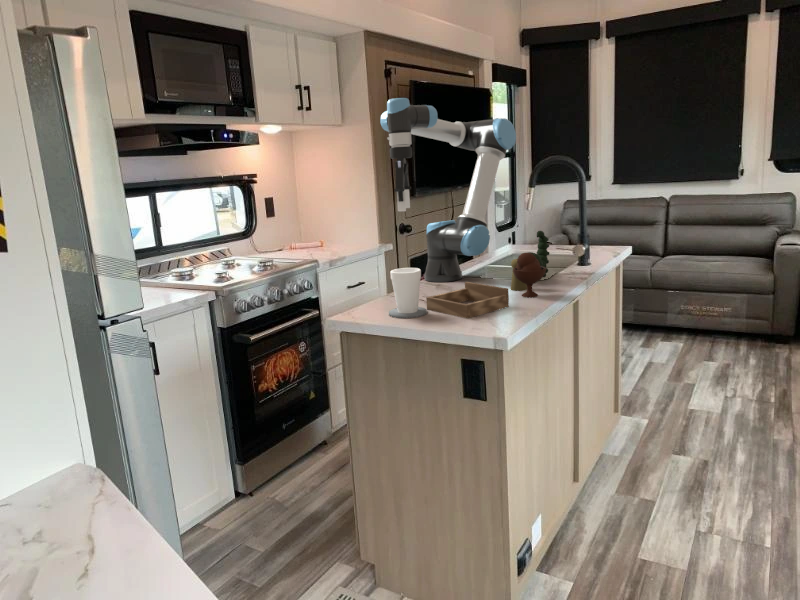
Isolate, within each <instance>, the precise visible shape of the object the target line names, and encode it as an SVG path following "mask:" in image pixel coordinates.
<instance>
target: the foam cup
mask: <svg viewBox="0 0 800 600" xmlns="http://www.w3.org/2000/svg"><path fill="white" fill-rule="evenodd" d="M389 273H390V280H391V283H392V288H393V293H394V299H395V304H396V308H397V310H398V312H399V313H414V312H417V311H418V307H419V301H420V290H421V289H420V288H421V277H422V270H421V269H420V268H418V267H402V268H400V267H399V268H395V269H392V270H390V272H389Z"/></svg>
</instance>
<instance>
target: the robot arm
mask: <svg viewBox="0 0 800 600" xmlns="http://www.w3.org/2000/svg"><path fill="white" fill-rule="evenodd" d="M380 125H381V128H382V129H383V130H384V131H386V132H388V137H386V139H387V140H388V142H389V143H388V144H389V146H390V148H389V158H390V159H392V160H394V159H396V161H395V164H394V167H395V188H394V192H395V193H396V202H397V205H396V206H397V212H407V209H411V200H410V198H411V197H410V190H412V186H411V185H410V180H409V163H408V161H407V160H406V159H411V158H412V157H413V149H412V146H411V145H412V144H413V143H412V135H414V136H418V137H423V138H427V139H433V140H436V141H441V142H446V143H449V145H451V146H453V147H457V148H460V149H464V150H468V151H474V152H475V153H476V154H477V159H476V161H475V166H474V169H473V173H472V177H471V181H470V185H469V189H468V191H467V195H466V199H465V203H464V208H463V209H462V210H463V211H462V213H461V214H460V215H459V216H457V218H456V220H455V219H452V220H451V219H450V220H446V221H445V220H443V221H438V222H437V221H436V222H430V223H428V224H427V226H426V233H425V235H426V248H427V249H426V250H427V264H426V267H425V271H424V274H423V275H424V280H425V281H427V282H434V283H445V282H454V281H458V280H462V279H463V271H462V270H461V267H460V264H459V261H458V255H461V256H466V257H471V256H473V257H474V256H475V257H476V256H479V255H481V254H483V253H484V252H485V251H486V250H487V248H488V246H489V243H490V239H491V235H490V231H489V229H488V223H487V221H486V214H487V210H488V206H489V202H490V200H491V196H492V191H493V187H494V183H495V180H496V176H497V172H498V168H499V165H500V161H502V160H503V159H505V158H506V154H507V150H508V151H509V150H511V149H513V148H514V146H515V144H516V140H517V133H516V130H515V127H514V124H513V123H512V121H510V120H509V119H508V118H501V117H500V118H499V117H498V118H494V119H483V120H476V121H468V122H465V121H463V122H462V121H457V120H456V121H455V122H451V121H448V120H443V119H440V118H439V117H438V111H437V109H436V108H435V107H434V106H433V105H427V104H421V105H420V104H417V105H416V104H415V105H412V104H411V103H410V100H409V98H407V97H396V98H390V99H388V101H387V102H386V110H385V111H384V112H382V114H381V115H380Z"/></svg>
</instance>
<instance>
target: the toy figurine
mask: <svg viewBox="0 0 800 600" xmlns="http://www.w3.org/2000/svg"><path fill="white" fill-rule="evenodd" d="M536 238H538V243H537V251H536V253H535V252H532V251H531V252H530V251H529V252H526V253H531V254H533V255H534V256H535V257H536V259H538V261H539V262H540V266H543V267H545V268H546V273H545V275H544V276H543V277H542V279H543V278H547V277H546V276H547V274H548V273H549V269H548V268H547V265H548V264H549V262H550V261H549V259H548V256H549V255H550V251H548V248H550V244H549V243H548V241H549V237H547V236H546V235H545V232H544V231H543V230H538V231H537V232H536Z"/></svg>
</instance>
